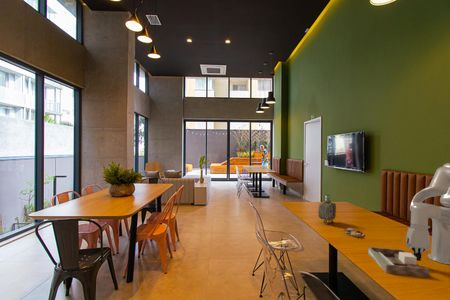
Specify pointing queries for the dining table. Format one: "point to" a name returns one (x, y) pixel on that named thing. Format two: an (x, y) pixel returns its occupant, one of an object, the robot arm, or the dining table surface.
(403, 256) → the cream block
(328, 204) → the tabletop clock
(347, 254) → the dining table surface
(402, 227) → the dining table surface
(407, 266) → the box
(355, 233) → the toy food set
